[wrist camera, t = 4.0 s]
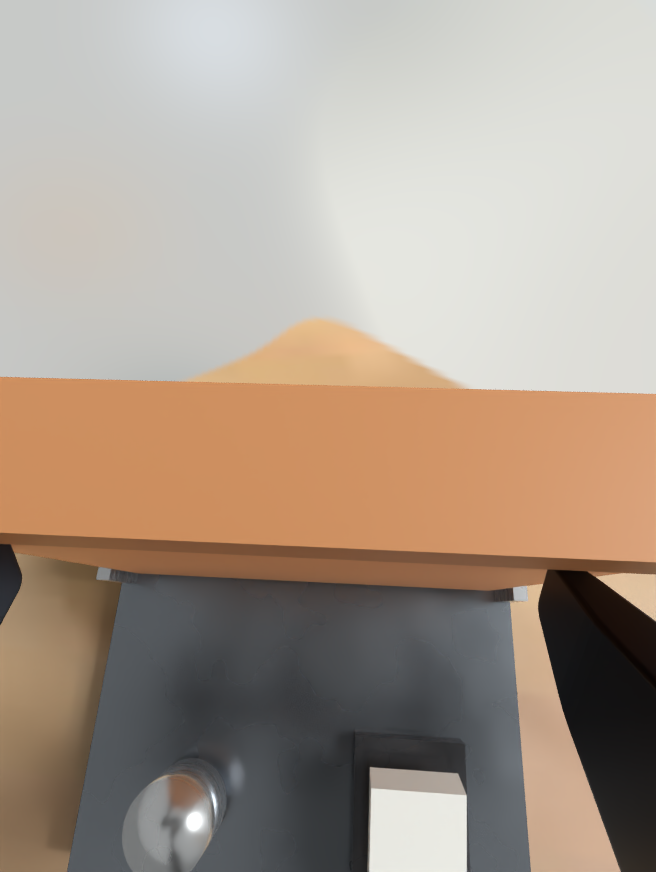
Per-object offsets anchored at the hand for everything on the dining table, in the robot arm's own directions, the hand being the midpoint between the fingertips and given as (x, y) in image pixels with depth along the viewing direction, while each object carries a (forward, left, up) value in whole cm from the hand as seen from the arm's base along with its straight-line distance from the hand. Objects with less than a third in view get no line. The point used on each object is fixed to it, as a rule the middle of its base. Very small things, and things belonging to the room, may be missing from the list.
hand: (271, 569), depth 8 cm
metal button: (-6, +2, -9) cm, 11 cm away
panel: (-3, 0, -10) cm, 10 cm away
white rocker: (-6, -4, -8) cm, 11 cm away
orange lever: (+1, 0, -9) cm, 9 cm away
